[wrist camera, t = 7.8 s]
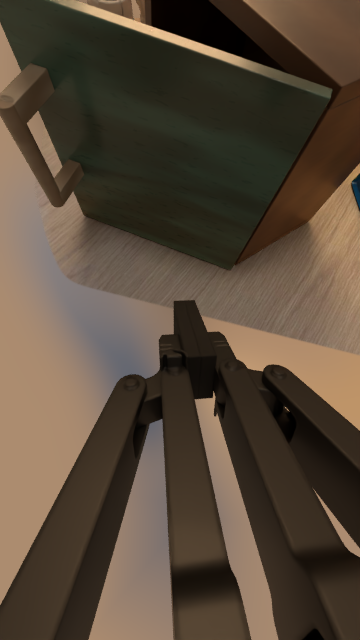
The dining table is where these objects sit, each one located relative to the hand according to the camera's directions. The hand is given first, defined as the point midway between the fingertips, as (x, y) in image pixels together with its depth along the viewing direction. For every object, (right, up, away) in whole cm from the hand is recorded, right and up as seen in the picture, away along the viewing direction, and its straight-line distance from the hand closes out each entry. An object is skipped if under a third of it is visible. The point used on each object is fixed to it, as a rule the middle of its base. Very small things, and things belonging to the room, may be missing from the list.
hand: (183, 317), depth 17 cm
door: (-4, +9, +15) cm, 18 cm away
